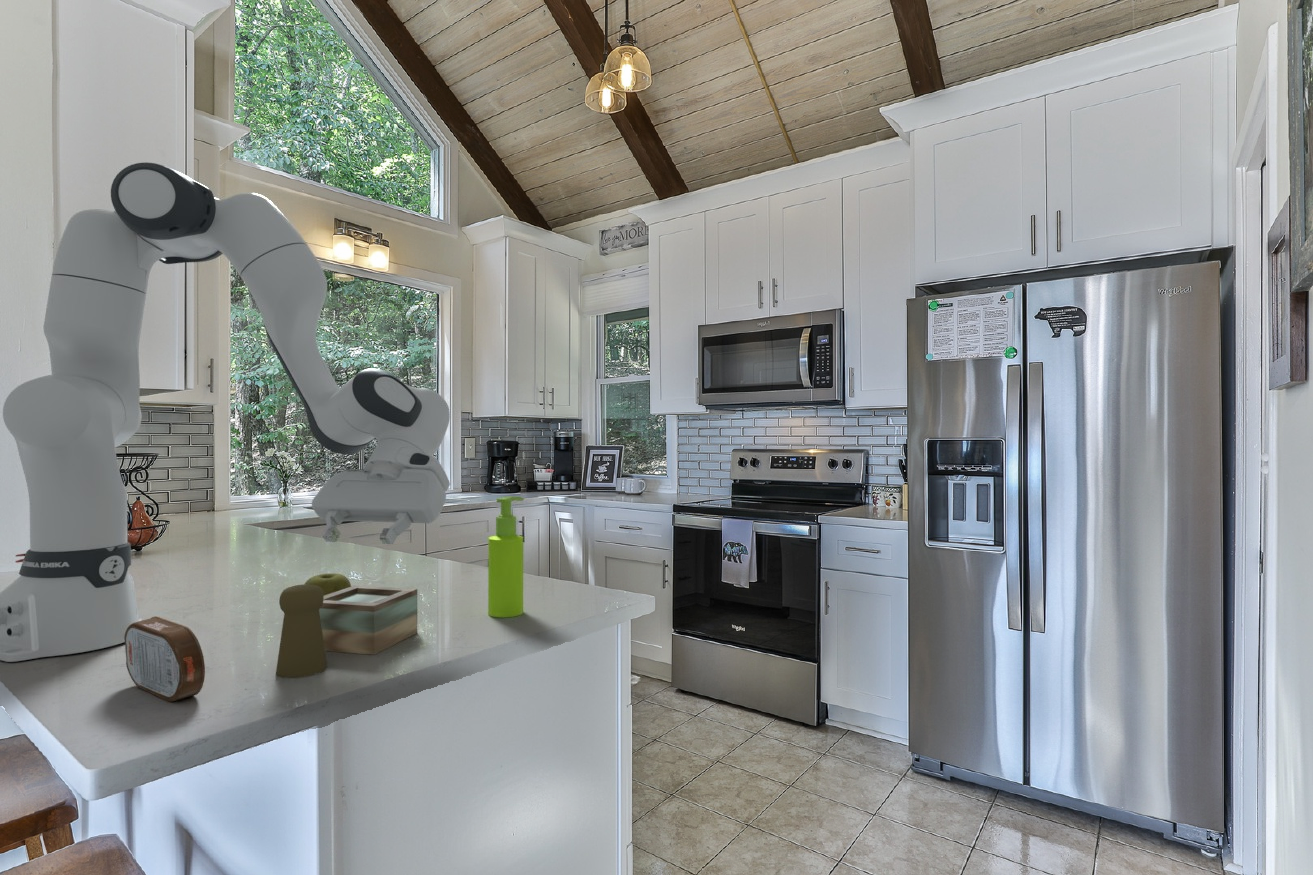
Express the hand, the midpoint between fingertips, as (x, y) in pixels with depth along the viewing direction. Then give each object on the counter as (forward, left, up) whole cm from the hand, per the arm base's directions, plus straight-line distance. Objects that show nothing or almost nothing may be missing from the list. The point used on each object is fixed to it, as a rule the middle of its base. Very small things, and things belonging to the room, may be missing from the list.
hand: (356, 540), depth 102 cm
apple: (-14, +12, -15) cm, 24 cm away
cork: (0, -11, -15) cm, 19 cm away
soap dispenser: (+14, +22, -15) cm, 30 cm away
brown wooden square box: (0, +2, -15) cm, 15 cm away
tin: (-11, -22, -15) cm, 29 cm away
